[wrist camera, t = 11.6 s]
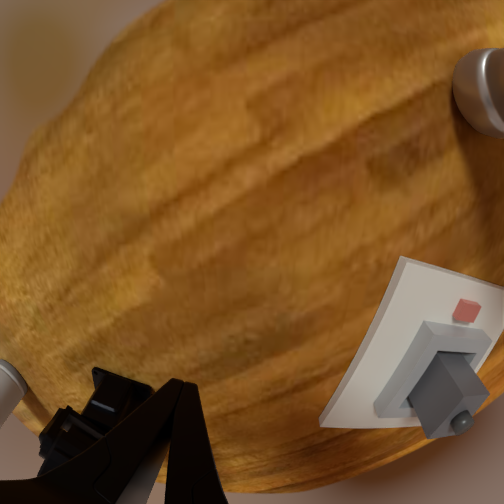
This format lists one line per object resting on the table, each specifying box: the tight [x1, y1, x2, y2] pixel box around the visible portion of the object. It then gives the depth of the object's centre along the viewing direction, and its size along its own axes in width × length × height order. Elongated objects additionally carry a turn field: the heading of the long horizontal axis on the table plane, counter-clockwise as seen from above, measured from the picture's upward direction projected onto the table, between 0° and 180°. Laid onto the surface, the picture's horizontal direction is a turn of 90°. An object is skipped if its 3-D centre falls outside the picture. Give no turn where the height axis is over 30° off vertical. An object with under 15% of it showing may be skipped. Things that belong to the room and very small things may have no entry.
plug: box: [408, 350, 490, 439], centre depth 18 cm, size 5×4×8 cm
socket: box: [319, 256, 504, 428], centre depth 21 cm, size 18×16×3 cm
